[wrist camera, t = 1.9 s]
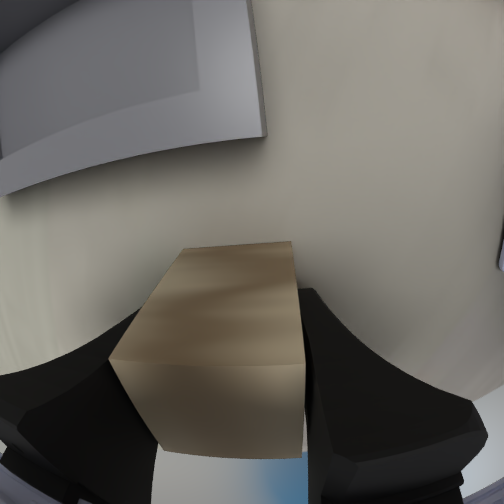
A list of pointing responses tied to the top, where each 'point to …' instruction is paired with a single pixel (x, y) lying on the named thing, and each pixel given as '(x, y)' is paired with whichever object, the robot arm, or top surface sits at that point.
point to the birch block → (220, 354)
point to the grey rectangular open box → (121, 81)
